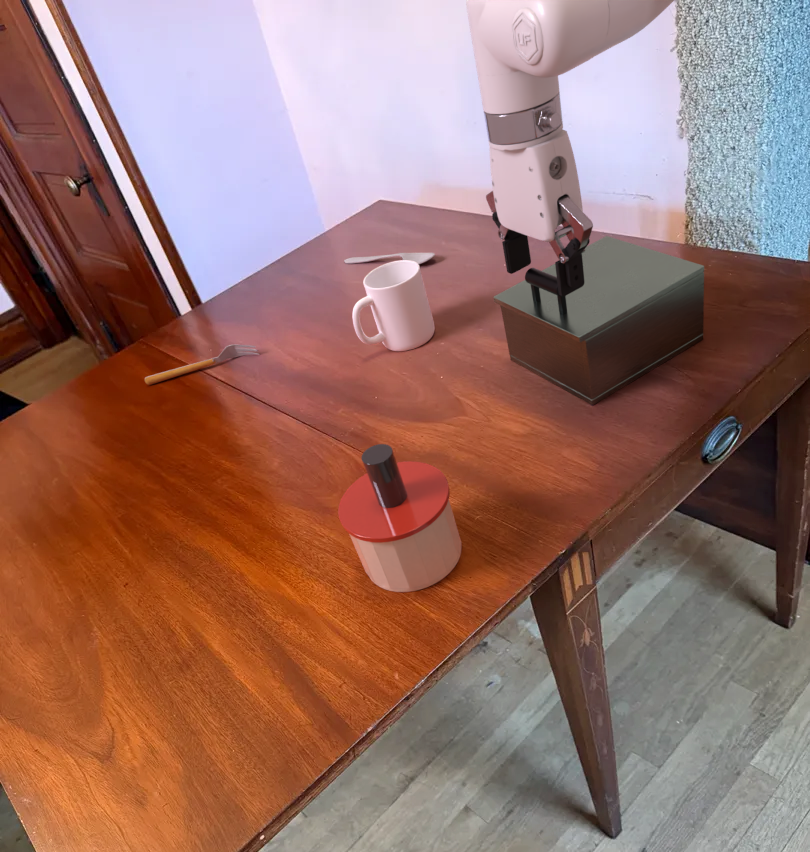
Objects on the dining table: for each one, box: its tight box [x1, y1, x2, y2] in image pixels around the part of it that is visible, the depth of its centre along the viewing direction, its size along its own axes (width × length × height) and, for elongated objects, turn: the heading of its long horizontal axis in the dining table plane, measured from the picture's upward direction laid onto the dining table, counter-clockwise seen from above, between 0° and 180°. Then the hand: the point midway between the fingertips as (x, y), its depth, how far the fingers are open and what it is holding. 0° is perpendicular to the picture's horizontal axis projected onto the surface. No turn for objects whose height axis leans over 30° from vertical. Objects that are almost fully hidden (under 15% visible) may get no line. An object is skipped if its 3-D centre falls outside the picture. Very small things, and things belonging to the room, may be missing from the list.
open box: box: [499, 272, 705, 406], centre depth 94 cm, size 18×17×9 cm
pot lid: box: [337, 443, 451, 543], centre depth 72 cm, size 11×11×7 cm
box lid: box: [492, 235, 705, 343], centre depth 89 cm, size 18×17×5 cm
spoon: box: [343, 252, 436, 265], centre depth 134 cm, size 4×21×2 cm, turn 56°
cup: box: [351, 259, 436, 352], centre depth 109 cm, size 8×12×10 cm
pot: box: [348, 499, 463, 593], centre depth 76 cm, size 10×10×8 cm
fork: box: [144, 343, 261, 386], centre depth 122 cm, size 2×2×20 cm
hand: (544, 279), depth 86 cm, fingers open, 9 cm apart
